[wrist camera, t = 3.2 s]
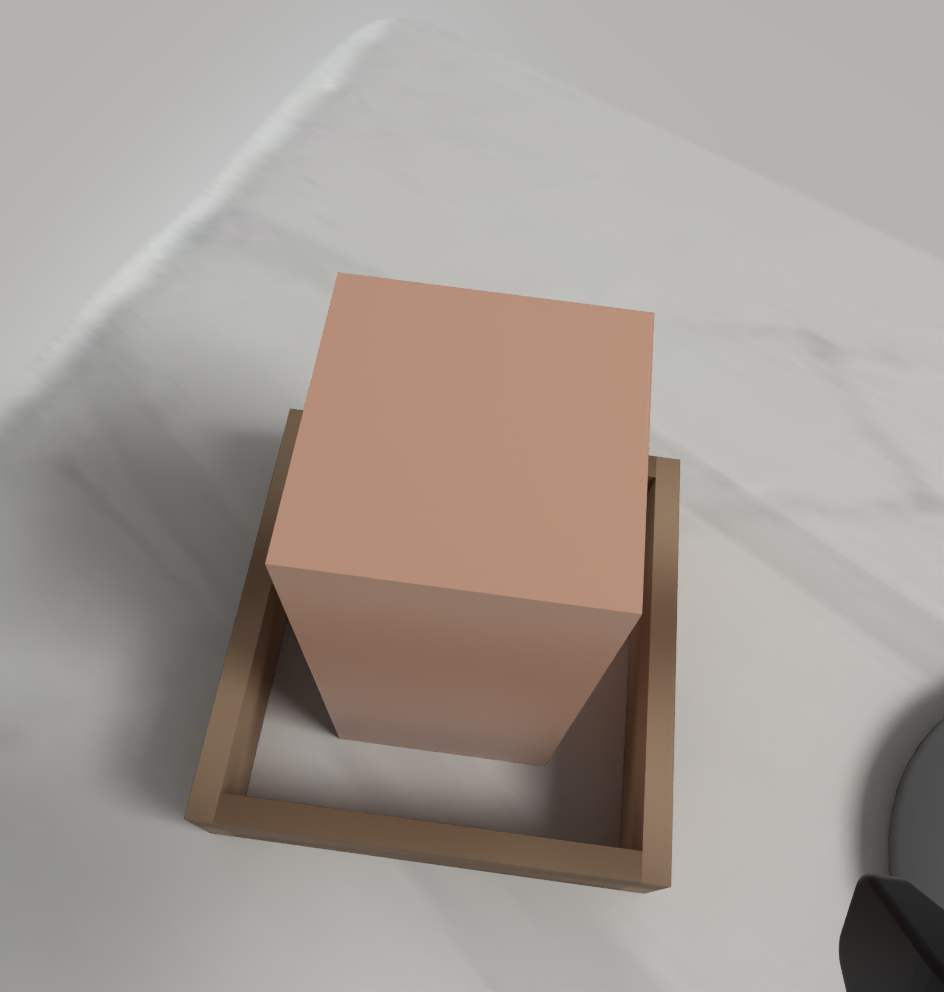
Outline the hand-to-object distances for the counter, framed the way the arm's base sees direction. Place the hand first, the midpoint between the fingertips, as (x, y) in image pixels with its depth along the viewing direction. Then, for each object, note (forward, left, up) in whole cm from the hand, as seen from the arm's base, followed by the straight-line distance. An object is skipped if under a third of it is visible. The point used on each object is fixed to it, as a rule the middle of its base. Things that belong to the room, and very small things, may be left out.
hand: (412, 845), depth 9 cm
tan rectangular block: (+3, +5, -12) cm, 14 cm away
